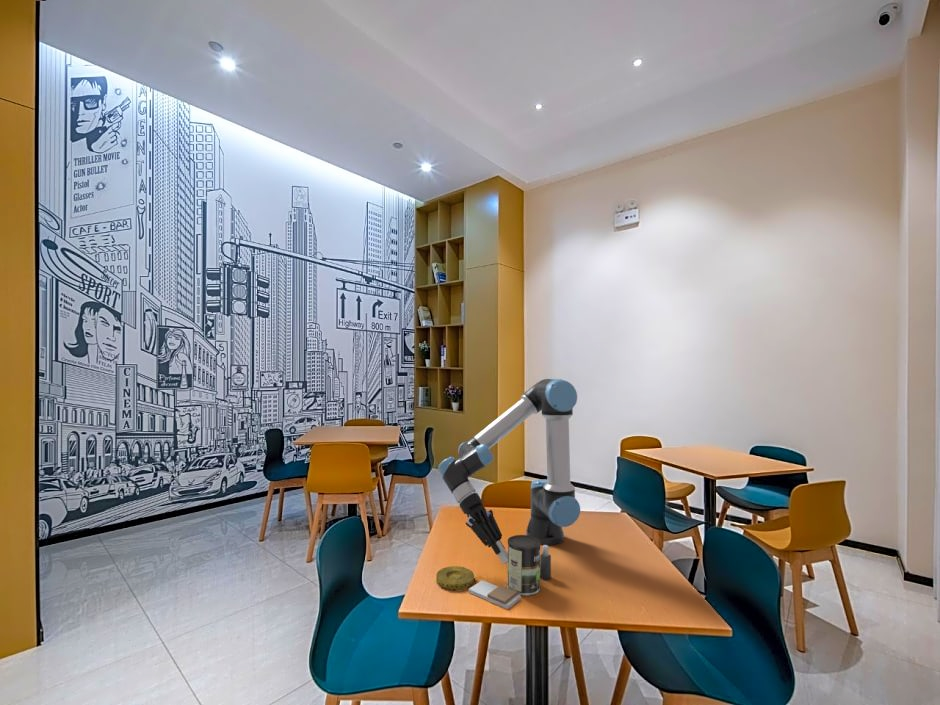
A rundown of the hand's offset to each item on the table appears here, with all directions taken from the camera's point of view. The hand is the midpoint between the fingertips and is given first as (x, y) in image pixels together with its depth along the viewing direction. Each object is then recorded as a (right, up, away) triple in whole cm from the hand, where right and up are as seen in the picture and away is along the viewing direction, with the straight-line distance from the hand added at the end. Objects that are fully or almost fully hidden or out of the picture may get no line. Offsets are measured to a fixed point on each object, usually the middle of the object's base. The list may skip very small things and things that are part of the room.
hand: (507, 561), depth 132 cm
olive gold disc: (-17, -6, -1) cm, 18 cm away
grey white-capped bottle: (+13, -7, +2) cm, 15 cm away
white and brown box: (-5, -5, -9) cm, 12 cm away
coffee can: (+5, -6, -4) cm, 9 cm away
